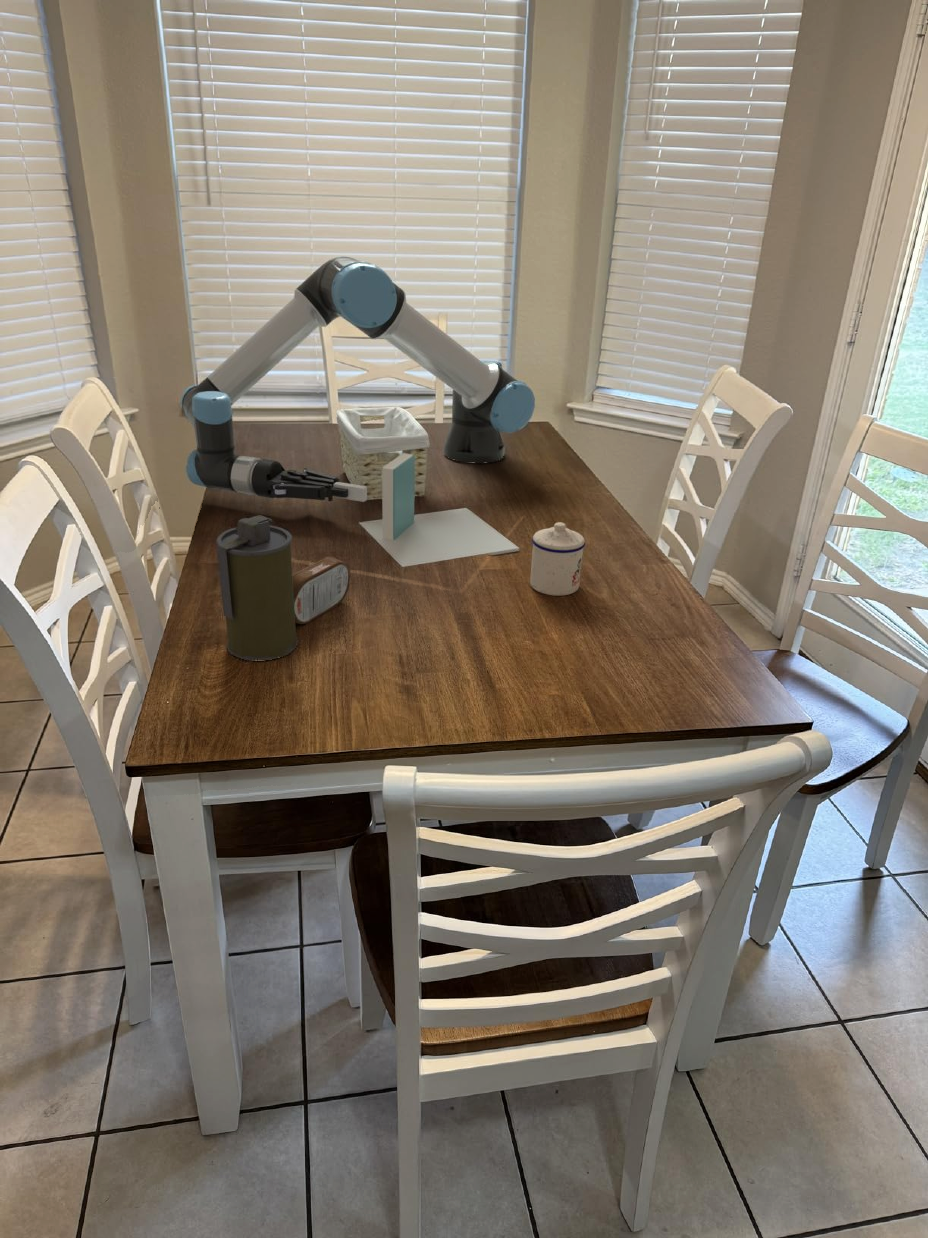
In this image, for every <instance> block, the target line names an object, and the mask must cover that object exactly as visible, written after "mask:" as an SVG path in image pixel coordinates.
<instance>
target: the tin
mask: <svg viewBox="0 0 928 1238" xmlns="http://www.w3.org/2000/svg"><path fill="white" fill-rule="evenodd" d="M292 577H293V594H294V612H295V624H298V625H305V624H308V623H310V622H312V621H314V620H315V619H317V618H319V617H320V616H323V615H324V614H326V613H328V612H329V611H331V610H332V609H334V608H336V607H337V606H339V604H341V603H342V601H343V600H344V598H345V597H346V596H347V594H348V592H349V588H350V580H351V569H350V565H348V564H347V563H346V562H345V561H343V560H340V559H338V558H336V557H334V556H326V557H324V558H322V559H320V560H318V561H317V562H314V563H312V564H310V565H309V566H307V567H304V568H302V569H300V570H299V571H296V572H294V573H292Z"/></svg>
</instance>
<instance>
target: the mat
mask: <svg viewBox="0 0 928 1238" xmlns="http://www.w3.org/2000/svg"><path fill="white" fill-rule="evenodd" d="M358 524H359V525H360V526H361V527H362V528H363V529H364V530H365V531H366V532H367V533H368V534H369V535H370V536H371V537H372V538H373V539H374V540H375V541H376V542H377V543H378V544H379V545H380V546H381V547H382V549H384V550H385V552H386V553H388V555H390V556H391V557H392V558H393V560H395V561H396V563H398V564H399V566H401V567H402V568H406V567H411V566H418V565H425V564H431V563H435V562H436V563H437V562H443V561H449V560H455V559H460V558H467V557H473V556H479V555H480V556H481V555H484V554H486V555H487V554H488V555H487V556H489V557H490V556H496V555H501V554H508V553H514V552H520V547H518V546H517V545H516V544H515V543H513V542H512V541H510V540H509V539H508V538H507V537H505V536H504V535H503V534H502V533H500V532H499V531H497V530H496V529H495V528H493V527H492V526H491V525H489V524H488V523H487V522H486V521H484V520H483V519H481V517H479V516H478V515H476V514H475V513H474V512H473V511H471V510H470V509H468V508H467V507H463V508H456V509H448V510H442V511H440V510H439V511H431V512H426V513H418V514H414V523H413V524H412V525H411V526H410V527H409V528H407V529H406V530H405V531H404V532H403V533H402V534H401V535H400V536H398V537H397V538H396V539H395V540H392V539H386V538H383V518H381V519H374V520H367V521H362V522H361V521H359V522H358Z"/></svg>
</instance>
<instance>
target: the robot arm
mask: <svg viewBox="0 0 928 1238" xmlns="http://www.w3.org/2000/svg"><path fill="white" fill-rule="evenodd" d="M406 297H407V294H406V292H405V291H404V290H403V289H402V288H400V287H399V286H398V285H397V284H396V283H394V282H393V281H392V279H391V278H390V276H389V275H388V273H387V272H386V271H385V270H383V269H382V268H381V267H379V266H378V265H376V264H373V263H370V262H366V261H361V260H358V259H356V258H353V257H351V256H338V257H334V258H332V259H328V261H326V262H324V263H323V264H322V265H320V267H318V268H317V269H316V270H315V271H314V272H312V273H311V274H310V275H309V276H308V277H307V278H306V279H305V280H304V281H303V282H302V283H301V284H300V285H299V286H297V287H296V288H295V289H294V296H293V298H292V299H291V300H290V301H289V302H287V304H286V305H284V306H283V307H282V308H281V309H280V310H279V311H278V312H277V313H276V314H275V315H273V316H272V317H271V318H270V319H269V320H267V322H266V323H264V325H263V326H262V327H260V328H259V329H258V330H257V331H256V332H255V333H254V334H253V335H251V337H249V339H247V340H246V341H245V342H244V343H243V344H242V345H241V346H239V348H238V349H236V351H234V352H233V353H232V354H231V355H230V356H229V357H228V358H226V360H224V361H223V362H222V363H221V364H220V365H219V366H218V367H217V368H215V369H214V371H212V372H211V373H210V374H209V375H208V376H207V377H205V379H203V380H202V381H201V382H200V383H199V384H194V385H190V386H188V387H187V388H186V389H184V391H183V392H182V395H181V398H180V406H181V410H182V413H183V414H184V416H185V418H186V419H187V420H188V421H189V423H190V424H191V425H192V427H193V429H194V434H195V441H196V449H194V450H192V451H191V452H190V453H189V455H188V457H187V459H186V462H187V465H185V473H186V477H187V478H188V480H189V481H190V483H192V484H193V485H196V486H199V487H203V488H207V489H209V490H210V489H212V490H220V491H226V492H234V493H238V494H239V493H241V494H245V495H246V496H247V497H250V496H258V497H263V498H267V499H268V498H269V499H282V498H283V499H284V498H286V499H302V500H303V499H304V500H314V501H315V500H317V501H318V500H319V501H325V500H326V498H327V501H328V502H332V501H333V498H336V499H337V498H338V499H343V500H349V501H356V502H361V503H365V502H367V501H368V500H367V486H361V485H354V484H351V483H346V482H342V481H341V482H340V477H338V476H334V475H331V474H326V473H324V472H319V471H315V470H312V469H310V468H308V467H303V468H302V472H301V471H300V472H299V471H297V470H295V469H294V470H293V469H287V470H286V469H285V468H284V467H283V464H282V463H280V461H277V460H272V459H265V458H263V459H261V458H259V457H253V456H246V455H239V454H236V447H235V446H236V445H235V437H234V436H235V435H234V421H233V414H234V412H233V411H234V410H233V409H232V406H233V405H234V404H235V403H236V402H238V400H239V399H240V398H242V397H243V395H245V394H246V393H247V392H248V391H249V390H250V389H251V388H253V387H254V386H255V385H256V384H257V383H258V382H259V381H261V379H262V378H264V377H265V376H266V375H267V374H268V373H269V372H270V371H271V370H272V369H274V367H276V366H277V365H278V364H279V363H280V362H281V361H282V360H283V359H285V358H286V357H287V356H288V355H289V354H291V352H292V351H293V350H294V349H296V348H297V347H298V346H299V345H300V344H302V342H303V341H304V340H305V339H307V338H308V336H310V335H311V334H312V333H313V332H315V330H317V329H318V328H320V327H322V328H326V327H327V326H328V325H329V324H331V323H332V322H333V321H334V320H336V319H338V318H340V317H341V318H342V319H344V320H345V321H346V322H348V323H350V324H351V325H352V326H353V327H355V328H357V330H360V332H362V334H365V335H366V336H368V337H369V338H370V339H371V340H379V339H384V340H385V341H386V342H388V343H389V344H391V345H392V346H393V347H395V348H396V349H398V350H399V351H400V352H401V353H403V354H404V355H406V356H407V357H408V358H410V359H411V360H412V361H414V362H415V363H416V364H418V365H419V366H421V367H422V368H423V369H425V370H426V371H427V372H429V373H430V374H431V375H433V376H434V377H436V378H437V379H438V380H440V381H441V382H442V383H444V384H445V385H446V386H448V388H450V389H452V402H451V403H452V408H451V409H452V411H451V414H452V415H451V424H450V428H449V430H448V434H447V437H446V439H445V442H444V446H443V455H444V454H445V455H446V456H447V457H449V458H450V460H451V459H455V460H458V461H462V462H461V463H463V462H475V463H482V464H485V463H484V462H492V463H495V462H494V461H496V462H498V461H497V460H499V459H501V460H502V458H503V459H504V457H505V444H504V440H503V438H502V434H501V432H503V433H505V434H512V433H515V432H518V431H520V430H522V429H523V428H524V427H525V426H527V424H529V422H530V420H531V419H532V417H533V414H534V412H535V408H536V405H535V403H536V401H535V400H536V399H535V394H534V392H533V390H532V389H531V388H530V387H529V385H527V384H526V383H525V382H524V381H521V380H518V379H516V378H514V377H513V376H512V375H511V374H509V373H508V372H506V370H504V369H503V364H502V362H500V361H497V360H488V359H487V360H482V359H481V360H480V359H479V358H478V357H476V356H475V355H473V354H472V353H471V352H470V351H469V350H467V349H466V348H465V347H463V345H461V344H460V343H459V342H457V341H456V340H455V339H453V338H452V337H451V336H449V335H448V334H447V333H446V332H445V331H444V330H442V329H441V328H439V327H438V326H437V325H436V324H435V323H433V322H432V321H430V320H429V319H428V318H427V317H426V316H424V315H423V314H421V313H420V312H419V311H418V310H416V309H415V308H414V307H413V306H411V305H410V304H409V303H408V302H407V298H406ZM445 455H444V456H445ZM446 456H445V457H446ZM503 456H504V457H503ZM447 457H446V458H447ZM449 458H448V459H449ZM458 461H457V462H458ZM499 461H500V460H499Z"/></svg>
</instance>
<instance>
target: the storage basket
mask: <svg viewBox="0 0 928 1238" xmlns="http://www.w3.org/2000/svg"><path fill="white" fill-rule="evenodd" d="M378 420H379V421H380V420H384V426H383V427H379V428H363V427H362V425H361V424H362V423H361V422H362V421H365V422H366V421H378ZM336 422H337V428H338V433H339V436H340V437H339V441H340V442H339V443H340V447H341V448H340V449H341V460H342V469H343V471H344V473H345V475H346V478H347V480H348V481H349V484H354V485H361V486H367V500H366V501H370V500H382V468H383V467H384V466H386V465H387V464H388V463H390V462H391V461H393V460H394V459H396V458H397V457H398V456H400V455H401V454H403V453H405V454H412V455H415V493H414V497H424V496H425V490H426V480H427V476H426V475H427V471H428V470H427V469H428V466H427V464H428V460H427V459H428V454H427V453H428V449H429V448H430V447H431V446H430V437H429V434H428V432H427V431H426V429H425V428H424V427H423V426H422V424H420V423H419V422H418V421H417V420H416V419H415V417H414V416H413V415H412V414H411V413H410V412H409V411H407V410H406V409H404V408H402V407H401V406H391V407H387V406H386V407H385V406H384V407H368V408H367V407H365V408H364V407H363V408H349V409H348V408H346V409H345V408H344V409H343V408H342V409H338V410H337V411H336Z"/></svg>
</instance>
